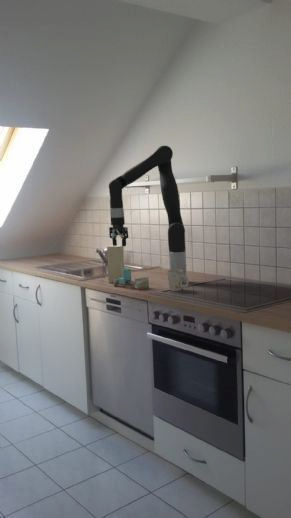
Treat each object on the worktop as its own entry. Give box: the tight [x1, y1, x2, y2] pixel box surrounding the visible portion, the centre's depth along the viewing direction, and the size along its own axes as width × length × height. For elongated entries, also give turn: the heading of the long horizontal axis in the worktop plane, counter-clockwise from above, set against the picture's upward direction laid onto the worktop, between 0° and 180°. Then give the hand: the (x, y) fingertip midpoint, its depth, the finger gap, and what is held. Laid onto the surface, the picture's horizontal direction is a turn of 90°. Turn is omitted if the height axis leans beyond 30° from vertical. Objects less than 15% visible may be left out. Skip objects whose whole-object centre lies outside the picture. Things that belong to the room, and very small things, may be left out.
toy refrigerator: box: [106, 244, 125, 284], centre depth 295 cm, size 8×7×21 cm
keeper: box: [118, 268, 132, 284], centre depth 280 cm, size 5×5×8 cm
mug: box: [166, 269, 190, 292], centre depth 261 cm, size 8×13×10 cm, turn 51°
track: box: [113, 276, 150, 291], centre depth 277 cm, size 20×8×6 cm, turn 42°
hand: (119, 246), depth 280 cm, fingers open, 8 cm apart
